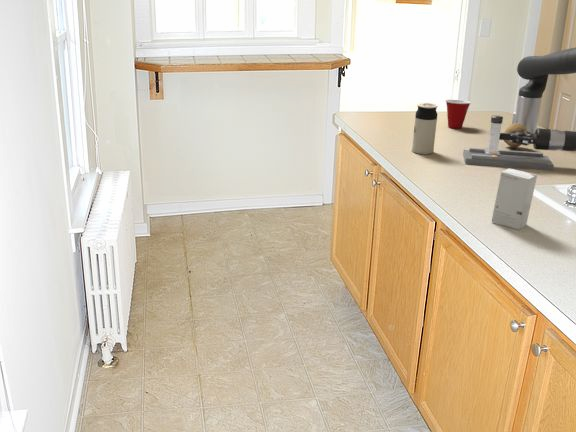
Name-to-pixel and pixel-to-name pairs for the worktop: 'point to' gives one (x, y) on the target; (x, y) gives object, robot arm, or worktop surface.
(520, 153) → the slider board
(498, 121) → the fader lever
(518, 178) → the skincare box
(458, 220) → the worktop surface
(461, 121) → the plastic cup
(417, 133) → the travel mug
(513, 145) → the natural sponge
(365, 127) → the worktop surface
